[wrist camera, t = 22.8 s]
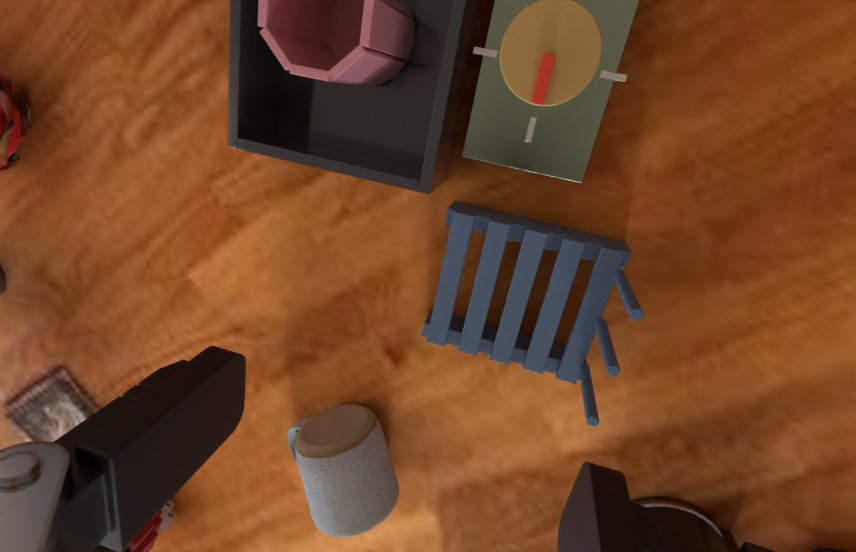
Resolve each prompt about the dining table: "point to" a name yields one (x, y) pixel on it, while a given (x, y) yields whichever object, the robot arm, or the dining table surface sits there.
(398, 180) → the dark grey open box
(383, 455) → the ceramic mug
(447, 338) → the drying rack
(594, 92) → the tap panel
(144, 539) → the cake
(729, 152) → the dining table surface
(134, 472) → the robot arm
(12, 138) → the dragon fruit
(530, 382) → the dining table surface
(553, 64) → the tap knob
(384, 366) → the dining table surface
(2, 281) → the ice cream bowl
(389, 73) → the cup
